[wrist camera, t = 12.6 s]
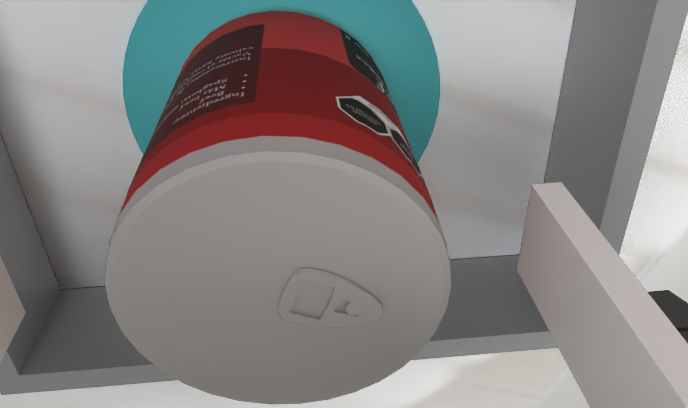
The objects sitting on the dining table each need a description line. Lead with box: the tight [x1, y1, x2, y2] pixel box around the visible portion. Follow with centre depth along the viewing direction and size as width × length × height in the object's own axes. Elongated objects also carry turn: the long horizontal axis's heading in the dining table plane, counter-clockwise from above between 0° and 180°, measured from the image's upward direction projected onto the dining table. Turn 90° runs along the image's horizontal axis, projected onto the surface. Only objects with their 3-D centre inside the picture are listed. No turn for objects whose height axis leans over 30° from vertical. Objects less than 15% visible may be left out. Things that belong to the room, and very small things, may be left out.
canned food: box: [105, 11, 451, 404], centre depth 18 cm, size 8×8×11 cm
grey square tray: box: [0, 0, 688, 395], centre depth 21 cm, size 24×19×5 cm
